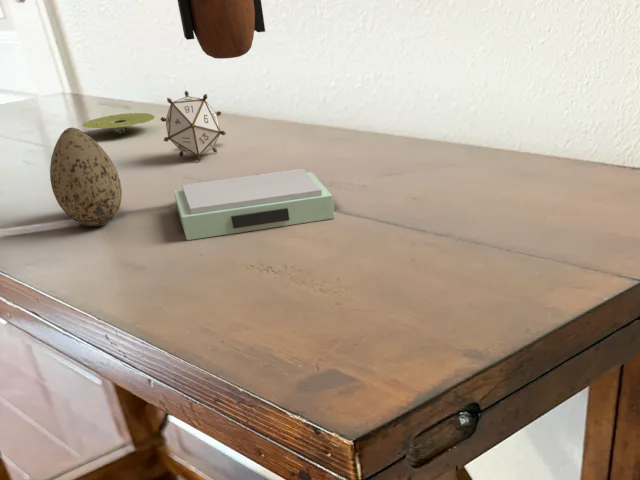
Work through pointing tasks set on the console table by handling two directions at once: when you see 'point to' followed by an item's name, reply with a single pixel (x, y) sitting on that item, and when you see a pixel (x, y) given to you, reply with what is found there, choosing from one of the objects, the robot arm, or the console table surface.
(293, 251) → the console table surface
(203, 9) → the wooden figurine
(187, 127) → the game die
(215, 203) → the kitchen scale
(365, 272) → the console table surface
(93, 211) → the decorative egg
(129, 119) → the olive green flat disc
